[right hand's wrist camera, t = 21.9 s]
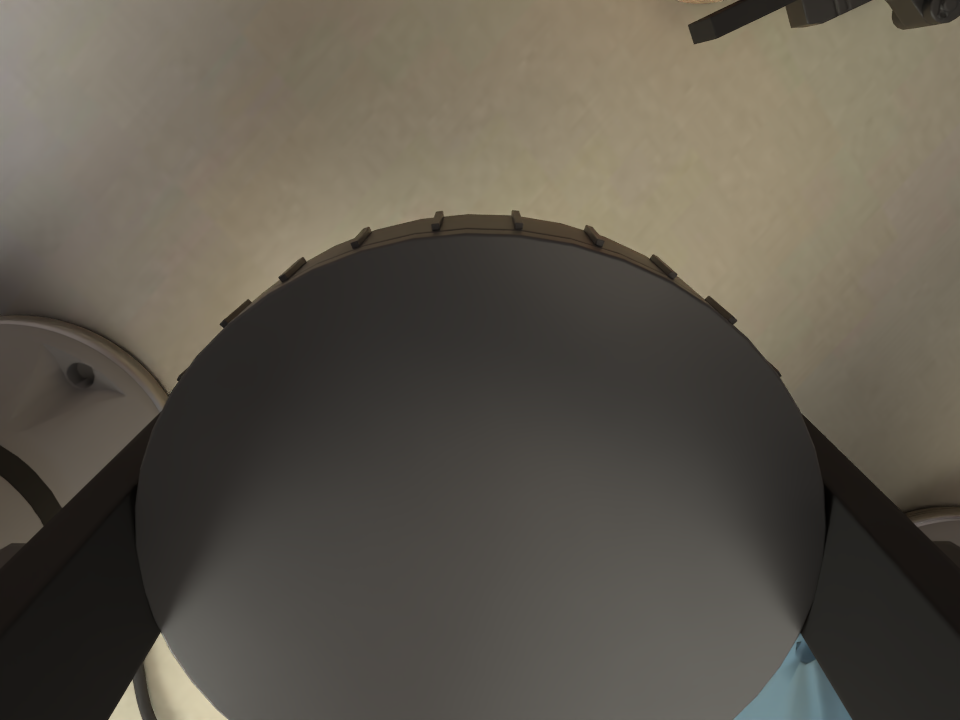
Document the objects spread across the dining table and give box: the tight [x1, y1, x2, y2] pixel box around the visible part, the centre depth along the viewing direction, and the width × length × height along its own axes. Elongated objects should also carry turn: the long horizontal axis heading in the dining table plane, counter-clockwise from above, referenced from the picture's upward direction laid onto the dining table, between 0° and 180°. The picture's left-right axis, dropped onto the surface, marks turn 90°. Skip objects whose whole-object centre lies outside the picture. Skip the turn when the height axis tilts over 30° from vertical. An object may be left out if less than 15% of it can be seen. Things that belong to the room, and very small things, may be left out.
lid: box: [135, 210, 826, 720], centre depth 11 cm, size 11×11×2 cm
